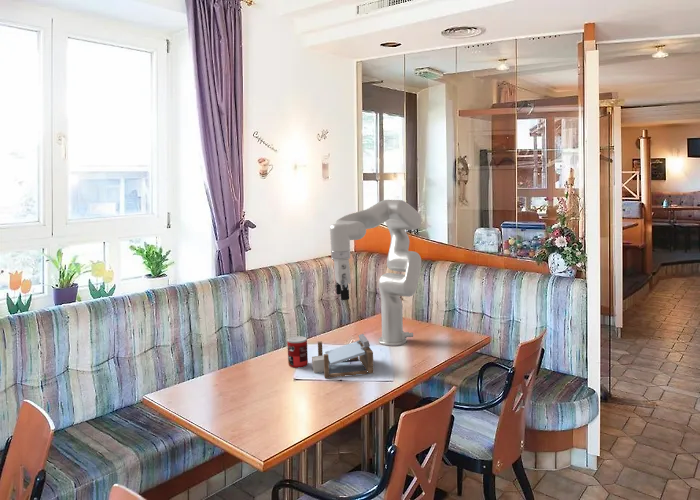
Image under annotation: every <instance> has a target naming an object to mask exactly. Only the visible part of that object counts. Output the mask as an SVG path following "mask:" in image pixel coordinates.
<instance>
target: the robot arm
mask: <svg viewBox="0 0 700 500" xmlns="http://www.w3.org/2000/svg"><path fill="white" fill-rule="evenodd" d="M384 223H385V224H386V227H387V229H388V232H389V234H390V243H389V250H388V253H387V259H386V267H387V269H388V270H390V271H394V272H393V273H392V272H387V273H384V274H382V275H380V277H379V279H378V289H379V293H380V295H379V296H380V303H381V304H380V306H381V307H380V308H381V309H380V310H381V317H380V318H381V336H380V337H379V338H378V343H379V344H380V345H383V346H391V347H393V346H401V345H404V344H406V343H407V338H413V337H414V333H413V332H409V331H406V332H404V325H403V321H404V320H403V314H404V313H403V302H402V298H401V297H407V298H410V297H412V296H414V295H415V293H416V292H417V288H418V283H419V280H420V274H421V268H422V258H421V255H420V254H419V253H418V252H417V251H414V250H413V251H412V250H409V249H410V238H409V235H408V233H407V232H406V230H409V231H416V230H418V229H419V228H420V227H421V224H422V216H421V214H420V213H419V211H418V210H417V209H415V208H414V207H413V206H412V205H410V204H409V203H408V202H406V201H405V200H403V199H402V200H401V199H383V200H381V201H379V202H376V203H375V204H373V205H372V206H370V207H368V208H366V209H362V210H359V211H356V212H352V213H349V214H347V215H344V216H342V217H340V218H338V219H337V220H336V221H335V222H334V223H333V224H331V225H330V227H329V232H330V233H329V235H330V253H331V260H333V263H334V265H333V267H334V280H335V283H336V284H335V291H336V295H340V300H341V301H349V300H350V289H349V288H350V287H349V284H351V283H352V279H351V277H352V276H351V269H350V259H351V244H350V243H351V241H358V240H361V239H363V238H364V237H365V236H366V234H367V230H369V229H375V228H377V227H378V226H380V225H382V224H384ZM395 272H403V273H404V274H400V273H395Z"/></svg>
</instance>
